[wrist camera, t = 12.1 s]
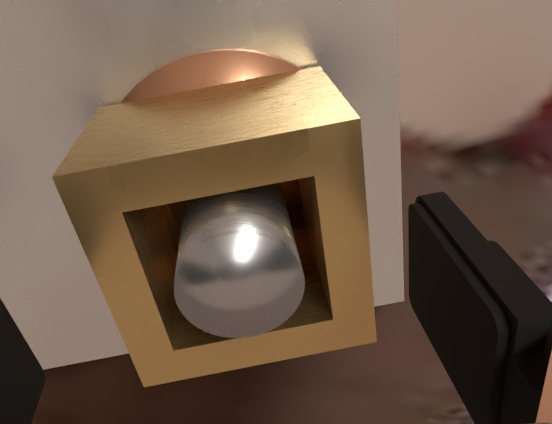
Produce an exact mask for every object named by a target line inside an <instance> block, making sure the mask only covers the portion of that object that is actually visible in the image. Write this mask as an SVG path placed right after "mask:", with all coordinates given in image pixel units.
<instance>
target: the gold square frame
mask: <svg viewBox="0 0 552 424" xmlns="http://www.w3.org/2000/svg"><path fill="white" fill-rule="evenodd" d="M52 179H53V181H54V183H55V186H56V188H57V190H58V193H59V195H60V197H61V199H62V202H63V204H64V206H65V209H66V211H67V213H68V215H69V218H70V220H71V222H72V224H73V227H74V229H75V231H76V234H77V236H78V238H79V240H80V243H81V245H82V247H83V250H84V252H85V254H86V256H87V259H88V261H89V263H90V266H91V268H92V270H93V272H94V275H95V277H96V279H97V281H98V284H99V286H100V288H101V291H102V293H103V295H104V297H105V300H106V302H107V304H108V307H109V309H110V311H111V313H112V316H113V318H114V320H115V322H116V325H117V327H118V329H119V332H120V334H121V336H122V338H123V341H124V343H125V345H126V348H127V350H128V352H129V354H130V357H131V359H132V361H133V364H134V366H135V368H136V370H137V373H138V375H139V377H140V379H141V382H142V384H143V386H144V387H148V386H153V385H159V384H164V383H169V382H174V381H179V380H184V379H189V378H194V377H199V376H205V375H210V374H215V373H220V372H225V371H230V370H235V369H240V368H246V367H251V366H256V365H261V364H266V363H271V362H276V361H281V360H286V359H292V358H297V357H302V356H307V355H312V354H317V353H322V352H327V351H332V350H338V349H343V348H348V347H353V346H358V345H363V344H368V343H373V342H377V338H376V324H375V311H374V297H373V283H372V269H371V256H370V242H369V228H368V214H367V201H366V187H365V173H364V159H363V146H362V132H361V118H360V117H359V116H358V114H357V113H356V112H355V111H354V109H353V108H352V107H351V105H350V104H349V103H348V102H347V100H346V99H345V98H344V96H343V95H342V94H341V93H340V91H339V90H338V89H337V87H336V86H335V85H334V84H333V82H332V81H331V80H330V78H329V77H328V76H327V75H326V73H325V72H324V71H323V69H322V68H321V67H320V66H316V67H311V68H306V69H300V70H295V71H290V72H284V73H279V74H274V75H268V76H263V77H258V78H252V79H247V80H242V81H237V82H231V83H226V84H221V85H215V86H210V87H205V88H199V89H194V90H189V91H183V92H178V93H173V94H167V95H162V96H157V97H151V98H146V99H141V100H135V101H130V102H125V103H119V104H114V105H109V106H104V107H99V108H98V109H97V111H96V112H95V113H94V115H93V116H92V118H91V119H90V121H89V122H88V124H87V125H86V127H85V128H84V130H83V131H82V133H81V134H80V136H79V137H78V139H77V140H76V142H75V143H74V145H73V146H72V147H71V149H70V150H69V152H68V153H67V155H66V156H65V158H64V159H63V161H62V162H61V164H60V165H59V167H58V168H57V170H56V171H55V173H54V174H53V176H52ZM295 179H298V182H299V189H300V196H301V202H302V209H303V215H304V222H305V228H301V229H296V230H293V234H294V238H295V242H296V246H297V250H298V254H299V258H300V262H301V265H302V269H303V273H304V278H305V288H304V294H303V298H302V300H301V302H300V304H299V306H298V308H297V309H296V311H295V312H294V313H293V314H292V316H290V317H289V318H288V319H287V320H286V321H285V322H284V323H282V324H281V325H280V326H278V327H276V328H275V329H273V330H270V331H268V332H266V333H263V334H260V335H256V336H252V337H245V338H227V337H220V336H216V335H213V334H210V333H207V332H205V331H203V330H201V329H199V328H197V327H196V326H194V325H193V324H192V323H190V322H189V321H188V320H187V319H186V318H185V317H184V315H183V314H182V313H181V311H180V310H179V308H178V306H177V303H176V301H175V297H174V279H175V271H176V262H177V254H178V246H179V235H178V231H177V228H176V225H175V222H174V219H173V215H172V212H171V209H170V206H169V204H170V203H175V202H180V201H185V200H191V199H196V198H201V197H206V196H211V195H217V194H222V193H227V192H232V191H238V190H243V189H248V188H253V187H259V186H264V185H269V184H274V183H280V182H285V181H290V180H295Z"/></svg>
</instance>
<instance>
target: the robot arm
mask: <svg viewBox="0 0 552 424" xmlns="http://www.w3.org/2000/svg"><path fill="white" fill-rule="evenodd" d="M408 212H409V297H410V302H411V305H412V308H413V310H414V312H415V314H416V316H417V317H418V319H419V321H420V323H421V325H422V327H423V329H424V330H425V332H426V334H427V336H428V338H429V340H430V342H431V343H432V345H433V347H434V349H435V351H436V353H437V355H438V356H439V358H440V360H441V362H442V364H443V366H444V368H445V369H446V371H447V373H448V375H449V377H450V379H451V381H452V382H453V384H454V386H455V388H456V390H457V392H458V394H459V395H460V397H461V399H462V401H463V403H464V405H465V407H466V408H467V410H468V412H469V414H470V416H471V418H472V420H473V421H474V423H475V424H552V302H551V301H550V300H549V299H548V298H547V297H546V296H545V295H544V294H543V292H542V291H541V290H540V289H539V288H538V287H537V286H536V285H535V284H534V282H533V281H532V280H531V279H530V278H529V277H528V276H527V275H526V274H525V273H524V271H523V270H522V269H521V268H520V267H519V266H518V265H517V264H516V263H515V262H514V260H513V259H512V258H511V257H510V256H509V255H508V254H507V253H506V252H505V251H504V249H503V248H502V247H501V246H500V245H499V244H497V243H496V242H494V241H487V240H486V239H485V237H484V236H483V235H482V234H481V233H480V232H479V231H478V230H477V228H476V227H475V226H474V225H473V224H472V223H471V222H470V220H469V219H468V218H467V217H466V216H465V215H464V214H463V213H462V211H461V210H460V209H459V208H458V207H457V206H456V205H455V203H454V202H453V201H452V200H451V199H450V198H449V197H448V196H447V194H446V193H444V192H437V193H432V194H427V195H422V196H418V197H417V198H416V203H414V204H410V205H409V211H408ZM44 381H45V376H44V371H43V369H42V367H41V365H40V363H39V362H38V360H37V358H36V357H35V355H34V353H33V352H32V350H31V348H30V347H29V345H28V343H27V342H26V340H25V338H24V337H23V335H22V333H21V332H20V330H19V328H18V327H17V325H16V323H15V322H14V320H13V318H12V317H11V315H10V313H9V312H8V310H7V308H6V307H5V305H4V303H3V302H2V300H1V298H0V424H31V422H32V419H33V416H34V413H35V410H36V407H37V404H38V401H39V398H40V395H41V392H42V389H43V386H44Z"/></svg>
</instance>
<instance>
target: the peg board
mask: <svg viewBox="0 0 552 424" xmlns="http://www.w3.org/2000/svg"><path fill="white" fill-rule="evenodd" d="M316 66H320V67H321V68H322V69H323V71H324V72H325V73H326V75H327V76H328V77H329V78H330V80H331V81H332V82H333V84H334V85H335V86H336V87H337V89H338V90H339V91H340V93H341V94H342V95H343V96H344V98H345V99H346V100H347V102H348V103H349V104H350V105H351V107H352V108H353V109H354V111H355V112H356V113H357V114H358V116H359V117H360V118H361V132H362V146H363V159H364V173H365V187H366V201H367V214H368V228H369V242H370V256H371V269H372V283H373V297H374V307H375V306H380V305H385V304H390V303H396V302H401V301H404V275H403V235H402V194H401V154H400V114H399V79H398V78H399V77H398V76H399V73H398V33H397V0H0V298H1V300H2V302H3V303H4V305H5V307H6V308H7V310H8V312H9V313H10V315H11V317H12V318H13V320H14V322H15V323H16V325H17V327H18V328H19V330H20V332H21V333H22V335H23V337H24V338H25V340H26V342H27V343H28V345H29V347H30V348H31V350H32V352H33V353H34V355H35V357H36V358H37V360H38V362H39V363H40V365H41V367H42V369H43V370H44V369H49V368H55V367H60V366H65V365H70V364H76V363H81V362H86V361H91V360H97V359H102V358H107V357H112V356H118V355H123V354H128V353H129V352H128V350H127V348H126V345H125V343H124V341H123V338H122V336H121V334H120V332H119V329H118V327H117V325H116V322H115V320H114V318H113V316H112V313H111V311H110V309H109V307H108V304H107V302H106V300H105V297H104V295H103V293H102V291H101V288H100V286H99V284H98V281H97V279H96V277H95V275H94V272H93V270H92V268H91V266H90V263H89V261H88V259H87V256H86V254H85V252H84V250H83V247H82V245H81V243H80V240H79V238H78V236H77V234H76V231H75V229H74V227H73V224H72V222H71V220H70V218H69V215H68V213H67V211H66V209H65V206H64V204H63V202H62V199H61V197H60V195H59V193H58V190H57V188H56V186H55V183H54V181H53V179H52V176H53V174H54V173H55V171H56V170H57V168H58V167H59V165H60V164H61V162H62V161H63V159H64V158H65V156H66V155H67V153H68V152H69V150H70V149H71V147H72V146H73V145H74V143H75V142H76V140H77V139H78V137H79V136H80V134H81V133H82V131H83V130H84V128H85V127H86V125H87V124H88V122H89V121H90V119H91V118H92V116H93V115H94V113H95V112H96V111H97V109H98V108H99V107H104V106H109V105H114V104H119V103H125V102H130V101H135V100H141V99H146V98H151V97H157V96H162V95H167V94H173V93H178V92H183V91H189V90H194V89H199V88H205V87H210V86H215V85H221V84H226V83H231V82H237V81H242V80H247V79H252V78H258V77H263V76H268V75H274V74H279V73H284V72H290V71H295V70H300V69H306V68H311V67H316ZM169 206H170V209H171V212H172V215H173V219H174V222H175V225H176V228H177V231H178V235H179V246H178V254H177V262H176V271H175V279H174V297H175V301H176V303H177V306H178V308H179V310H180V311H181V313H182V314H183V315H184V317H185V318H186V319H187V320H188V321H189V322H190V323H192V324H193V325H194V326H196V327H197V328H199V329H201V330H203V331H205V332H207V333H210V334H213V335H216V336H220V337H227V338H245V337H252V336H256V335H260V334H263V333H266V332H268V331H270V330H273V329H275V328H276V327H278V326H280V325H281V324H282V323H284V322H285V321H286V320H287V319H288V318H289V317H290V316H292V314H293V313H294V312H295V311H296V309H297V308H298V306H299V304H300V302H301V300H302V298H303V294H304V288H305V278H304V273H303V269H302V265H301V262H300V258H299V254H298V250H297V246H296V242H295V238H294V234H293V230H296V229H301V228H305V222H304V215H303V209H302V202H301V196H300V189H299V182H298V179H295V180H290V181H285V182H280V183H274V184H269V185H264V186H259V187H253V188H248V189H243V190H238V191H232V192H227V193H222V194H217V195H211V196H206V197H201V198H196V199H191V200H185V201H180V202H175V203H170V204H169Z"/></svg>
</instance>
